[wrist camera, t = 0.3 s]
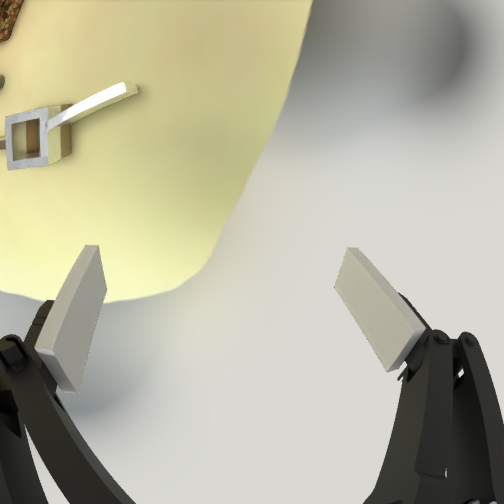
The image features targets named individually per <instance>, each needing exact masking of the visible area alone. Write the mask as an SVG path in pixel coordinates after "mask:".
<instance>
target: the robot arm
mask: <svg viewBox="0 0 504 504" xmlns="http://www.w3.org/2000/svg"><path fill="white" fill-rule="evenodd" d="M334 288H335V289H336V291H337V292H338V294H339V295H340V297H341V298H342V300H343V301H344V303H345V305H346V306H347V308H348V309H349V311H350V312H351V314H352V316H353V317H354V319H355V320H356V322H357V324H358V325H359V327H360V328H361V330H362V332H363V333H364V335H365V336H366V338H367V340H368V341H369V343H370V345H371V346H372V348H373V350H374V351H375V353H376V355H377V356H378V358H379V360H380V362H381V363H382V365H383V367H384V368H385V370H386V372H390V371H393V370H396V369H399V367H400V366H401V365H402V363H403V362H404V361H405V362H406V363H407V366H406V368H405V369H404V371H403V372H402V373H401V374H400V376H399V377H398V379H397V380H398V381H399V380H400V379H401V377H403V380H402V388H401V393H400V399H399V403H398V408H397V413H396V418H395V422H394V426H393V430H392V434H391V438H390V441H389V445H388V449H387V452H386V455H385V459H384V462H383V465H382V468H381V471H380V474H379V477H378V480H377V483H376V486H375V488H374V490H373V492H372V493H371V495H370V496H369V497H368V498H367V499H366V500H365V502H364V503H363V504H504V424H503V419H502V415H501V411H500V407H499V403H498V399H497V395H496V392H495V388H494V385H493V382H492V378H491V375H490V373H489V369H488V366H487V363H486V361H485V358H484V355H483V353H482V350H481V347H480V345H479V342H478V340H477V339H476V337H475V336H474V335H472V334H471V333H469V332H462V333H461V334H460V336H459V338H458V339H450V338H449V337H448V335H447V334H446V333H444V332H443V331H441V330H437V329H435V330H432V329H431V328H430V326H429V325H428V324H427V323H426V322H425V320H424V319H423V318H422V317H421V316H420V314H419V313H418V312H417V310H416V309H415V308H414V307H412V304H411V303H410V302H409V301H408V299H407V298H405V297H404V296H403V295H401V294H400V293H397V292H396V290H395V289H394V288H393V287H392V286H391V284H390V283H389V282H388V281H387V280H386V279H385V277H384V276H383V275H382V274H381V273H380V272H379V271H378V270H377V268H376V267H375V266H374V265H373V264H372V263H371V262H370V261H369V259H368V258H367V257H366V256H365V255H364V254H363V253H362V252H361V251H360V249H358V248H347V249H346V253H345V256H344V259H343V262H342V265H341V269H340V271H339V274H338V277H337V280H336V284H335V286H334ZM106 292H107V287H106V282H105V277H104V272H103V267H102V262H101V257H100V251H99V245H85V246H84V248H83V250H82V251H81V253H80V255H79V257H78V258H77V260H76V262H75V264H74V265H73V267H72V269H71V271H70V273H69V274H68V276H67V278H66V280H65V282H64V284H63V286H62V288H61V290H60V292H59V294H58V296H57V298H56V300H47V301H46V302H45V303H44V304H43V305H42V306H41V307H40V308H39V310H38V312H37V314H36V318H34V320H33V322H32V325H31V327H30V329H29V331H28V333H27V335H26V338H25V340H24V342H22V340H21V339H20V337H18V336H17V335H13V334H10V335H7V336H4V337H3V338H1V339H0V504H48V501H47V499H46V496H45V493H44V491H43V488H42V486H41V483H40V480H39V477H38V474H37V471H36V468H35V465H34V462H33V458H32V455H31V451H30V447H29V443H28V439H27V435H26V431H25V426H26V428H27V431H28V433H29V435H30V437H31V439H32V441H33V443H34V445H35V447H36V449H37V451H38V453H39V455H40V457H41V459H42V460H43V462H44V464H45V466H46V467H47V469H48V471H49V473H50V474H51V476H52V478H53V479H54V481H55V482H56V484H57V486H58V487H59V489H60V490H61V492H62V493H63V494H64V496H65V497H66V499H67V500H68V502H69V503H70V504H136V503H135V502H134V501H133V500H132V499H131V498H130V497H129V496H128V495H127V494H126V493H125V491H124V490H123V489H122V488H121V487H120V486H119V485H118V483H117V482H116V481H115V480H114V479H113V478H112V476H111V475H110V474H109V473H108V471H107V470H106V469H105V468H104V467H103V465H102V464H101V462H100V461H99V460H98V458H97V457H96V456H95V454H94V453H93V452H92V450H91V449H90V447H89V446H88V445H87V443H86V442H85V440H84V439H83V437H82V436H81V434H80V432H79V431H78V429H77V428H76V426H75V425H74V423H73V421H72V420H71V418H70V416H69V415H68V413H67V411H66V410H65V408H64V406H63V404H62V403H61V401H60V399H59V397H58V395H57V394H56V393H55V392H56V388H57V385H58V386H59V388H60V389H61V390H62V392H65V393H70V394H77V395H79V392H80V388H81V382H82V377H83V373H84V369H85V365H86V361H87V356H88V353H89V349H90V345H91V341H92V337H93V334H94V330H95V327H96V323H97V320H98V317H99V313H100V310H101V307H102V304H103V301H104V298H105V295H106ZM462 368H463V371H464V374H463V375H462V376H461V377H460V378H459V375H458V373H459V372H460V371H461V370H462ZM24 424H25V425H24ZM445 471H447V478H446V476H445Z"/></svg>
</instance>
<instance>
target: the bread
mask: <svg viewBox="0 0 504 504" xmlns="http://www.w3.org/2000/svg"><path fill="white" fill-rule="evenodd" d="M22 2H23V0H0V41H4V40H7V39H9V37H10V35H11V32H12V28H13V25H14V23H15V20H16V18H17V14H18V12H19V10H20V8H21V5H22Z"/></svg>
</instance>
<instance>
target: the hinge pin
mask: <svg viewBox="0 0 504 504" xmlns="http://www.w3.org/2000/svg"><path fill="white" fill-rule="evenodd" d="M4 81H5V79H4V76H3V75H0V90H1V89H2V88H3V85H4Z"/></svg>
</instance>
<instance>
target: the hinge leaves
mask: <svg viewBox="0 0 504 504" xmlns="http://www.w3.org/2000/svg"><path fill="white" fill-rule="evenodd" d="M137 93H139V91H138V87H137V85H134V84H130V83H125V82H122V83H120V84H117V85H115V86H113V87H111V88H108V89H106V90H104V91H102V92H100V93H98V94H95V95H93V96H91V97H89V98H87V99H85V100H83V101H81V102H79V103H78V104H76V105H74V106H72V104H67V105H59V106H52V107H46V108H41V109H36V110H31V111H26V112H22V113H18V114H14V115H10V116H6V117H5V136H3V137H0V149H5V148H6V155H7V167H8V171H9V170H16V169H23V168H31V167H40V166H49V165H51V164H52V163H54V162H56V161H58V160H59V159H61V158H63V157H65V156H67V155H68V154H70V153H71V124H72V123H74V122H75V121H77V120H79V119H81V118H83V117H85V116H87V115H89V114H91V113H93V112H95V111H97V110H100V109H102V108H104V107H106V106H108V105H111V104H113V103H115V102H117V101H120V100H122V99H125V98H127V97H129V96H132V95H135V94H137ZM38 118H40V149H39V144H38Z"/></svg>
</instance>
